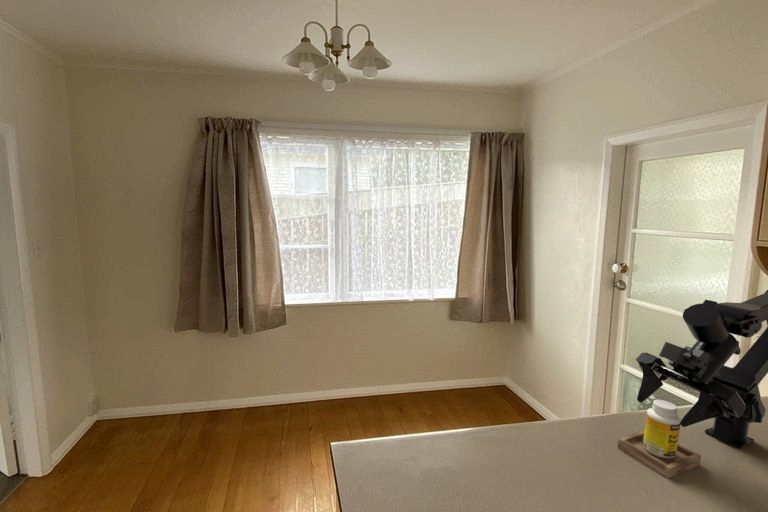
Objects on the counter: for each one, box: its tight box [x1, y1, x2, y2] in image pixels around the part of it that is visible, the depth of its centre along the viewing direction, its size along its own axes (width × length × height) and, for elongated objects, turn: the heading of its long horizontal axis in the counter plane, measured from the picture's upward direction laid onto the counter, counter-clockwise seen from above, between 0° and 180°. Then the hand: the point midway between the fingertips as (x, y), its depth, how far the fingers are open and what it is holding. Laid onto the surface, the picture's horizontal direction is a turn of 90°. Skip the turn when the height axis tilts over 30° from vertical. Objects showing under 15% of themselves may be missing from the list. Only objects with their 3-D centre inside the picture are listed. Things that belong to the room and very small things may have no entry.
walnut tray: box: [617, 429, 702, 479], centre depth 79 cm, size 10×10×2 cm
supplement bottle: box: [643, 399, 682, 459], centre depth 79 cm, size 6×6×10 cm
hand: (658, 412), depth 78 cm, fingers open, 9 cm apart
